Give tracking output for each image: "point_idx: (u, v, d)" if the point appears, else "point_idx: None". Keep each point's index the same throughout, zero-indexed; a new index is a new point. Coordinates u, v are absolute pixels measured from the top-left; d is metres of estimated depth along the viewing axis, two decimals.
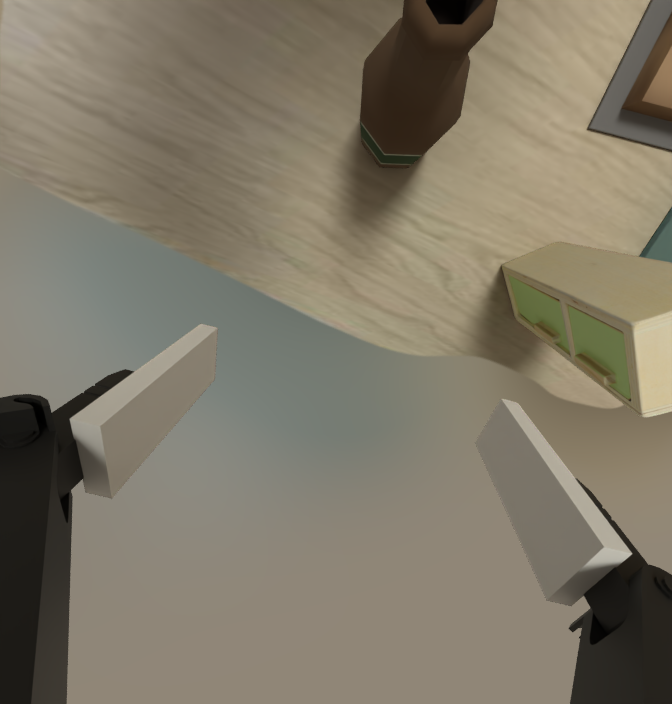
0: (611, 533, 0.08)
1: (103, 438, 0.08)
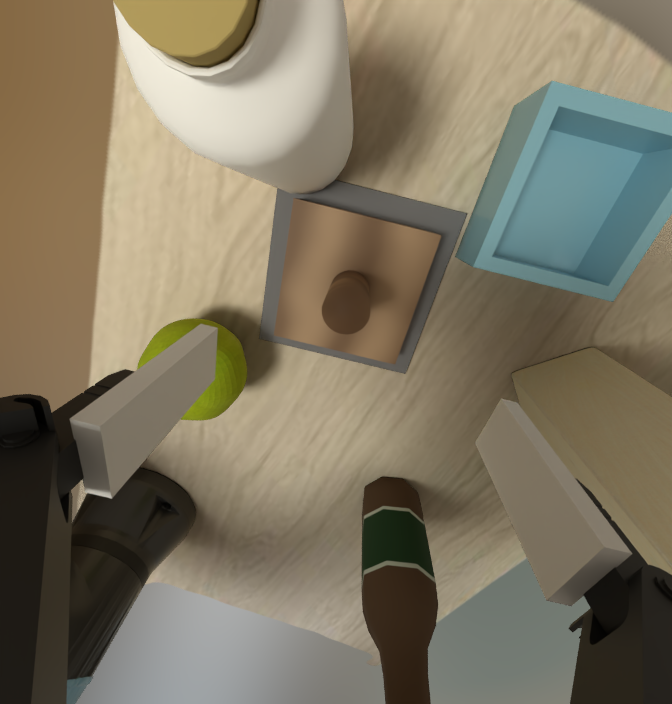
0: (611, 533, 0.08)
1: (103, 438, 0.08)
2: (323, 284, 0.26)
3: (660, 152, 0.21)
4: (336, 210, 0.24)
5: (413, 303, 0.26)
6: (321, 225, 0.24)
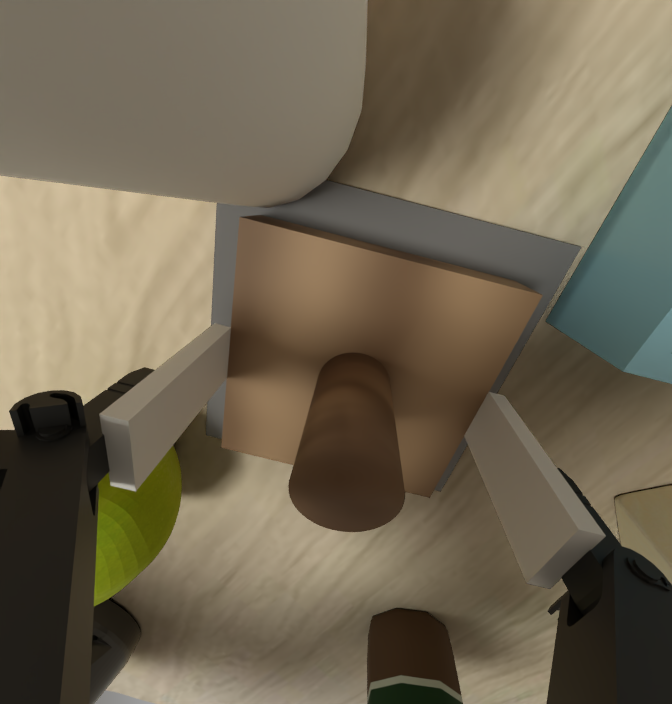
0: (587, 517, 0.08)
1: (130, 433, 0.08)
2: (305, 373, 0.14)
3: None
4: (328, 243, 0.12)
5: (471, 410, 0.14)
6: (298, 271, 0.12)
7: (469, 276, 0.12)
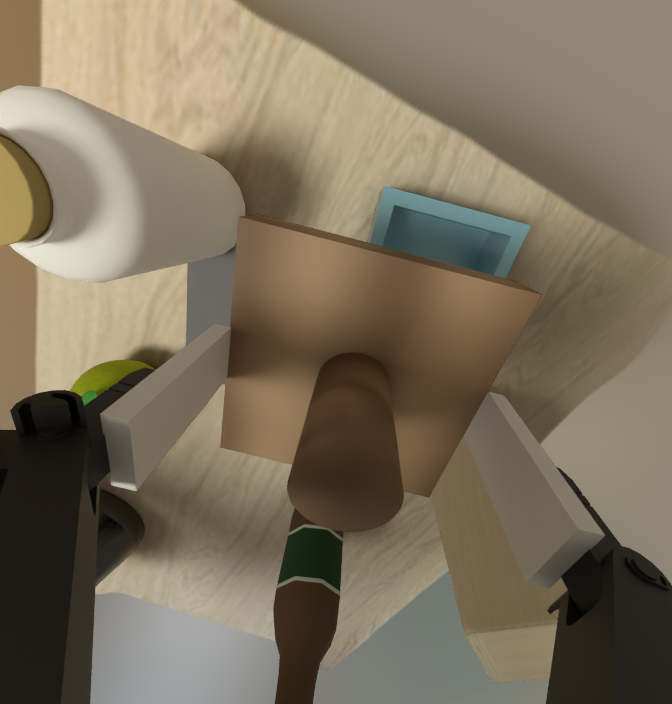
0: (586, 517, 0.08)
1: (131, 433, 0.08)
2: (304, 373, 0.14)
3: (496, 235, 0.25)
4: (327, 242, 0.12)
5: (470, 410, 0.14)
6: (297, 270, 0.12)
7: (468, 276, 0.12)
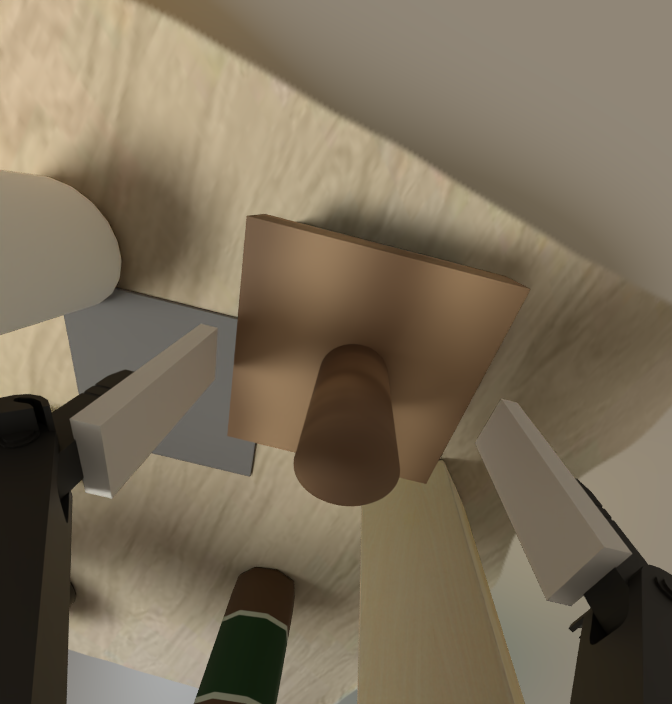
0: (611, 533, 0.08)
1: (103, 438, 0.08)
2: (307, 364, 0.15)
3: None
4: (329, 240, 0.12)
5: (465, 399, 0.15)
6: (301, 266, 0.13)
7: (461, 271, 0.12)
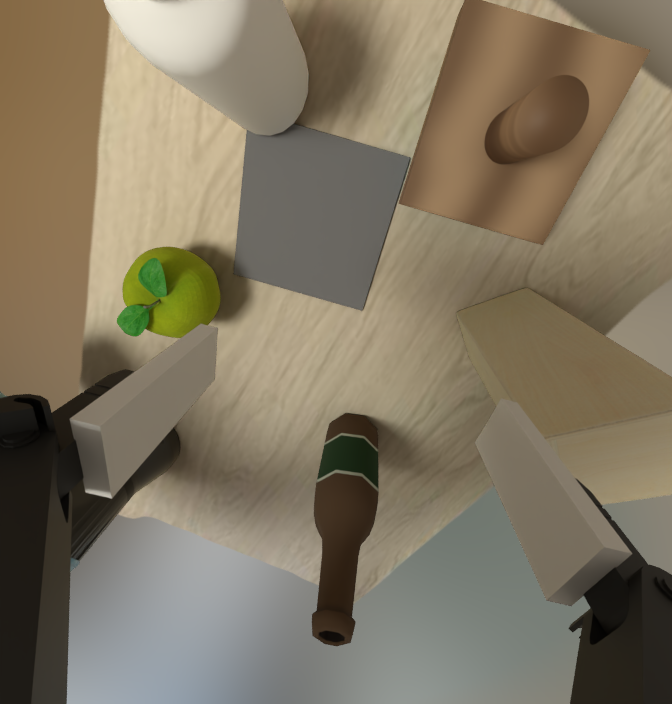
0: (611, 533, 0.08)
1: (103, 438, 0.08)
2: (478, 128, 0.22)
3: None
4: (519, 14, 0.19)
5: (587, 155, 0.22)
6: (494, 38, 0.20)
7: (604, 37, 0.19)
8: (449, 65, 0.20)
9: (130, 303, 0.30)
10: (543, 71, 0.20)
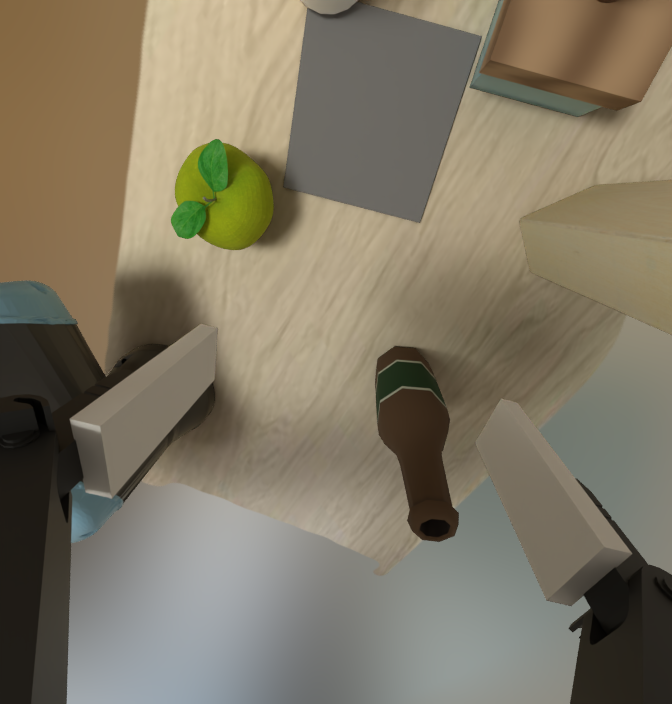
0: (611, 533, 0.08)
1: (103, 438, 0.08)
2: None
3: None
4: None
5: None
6: None
7: None
8: None
9: (185, 200, 0.28)
10: None
